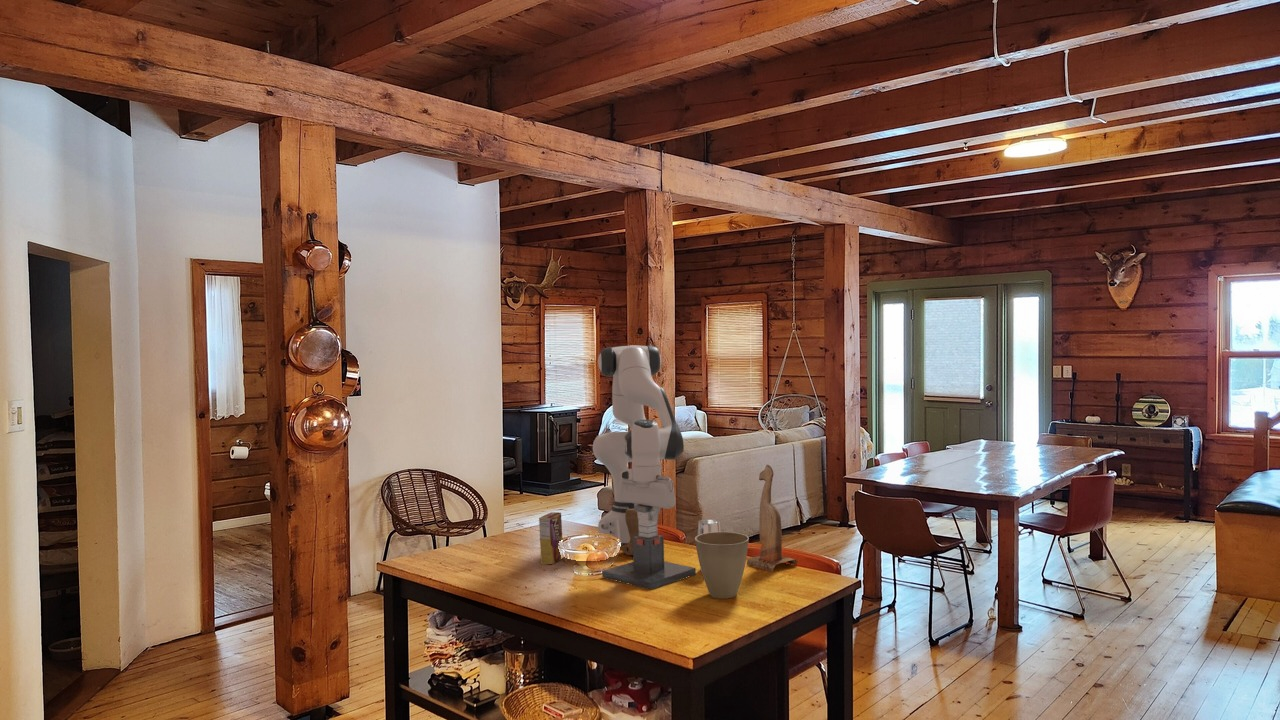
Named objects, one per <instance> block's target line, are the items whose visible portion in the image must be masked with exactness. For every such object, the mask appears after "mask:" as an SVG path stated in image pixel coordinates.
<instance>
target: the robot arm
mask: <svg viewBox="0 0 1280 720" xmlns="http://www.w3.org/2000/svg"><path fill="white" fill-rule="evenodd" d="M597 366H598V368H599V371H600V374H602V376H604V377H606V378H612V387H611V388H612V392H611V393H612V394H611V395H612V402H611V403H612V415H613V416H614V418H616V420H618V421H619V422H621V423H624V424H626V425H627V426H628V427H629V431H615V432H614V431H612V432H606V433H601V434H598V435H597V436H596V437H595V439H594V441H593V444H592V453H593V455H594V457H595V458H596V460H597V461H599V462H600V463H602V465H604V466H605V467H606V469H607V470H608V472H609V473H610V475H611V477H612V483H613V493H614V494H613V495H614V498H613V499H614V500H613V501H609V502H608V503H609V504H608V505H609V506H611V508H610V511H608V512H607V513H606V514H605V515H604V516H602V517H601V519H599V521H598V526H597V529H598V530H597V532H598V533H604V534H609V535H612V536H614V537H617V538H619V539H620V540H621V541H622V543H621V544H628V543H629V542H630V535H629V531H628V527H627V524H626V520H625V513H626V510H627V509H634V506H636V505H647V506H653V510H654V512H653V515H651V521H657V522H658V521H659V514H660V513H661V509H667V510H669V509H673V508H674V507H675V505H676V504H677V503H676V502H677V501H676V493H675V489H674V488H675V487H674V481H673V480H672V479H671V478H670V476H664V475H663V476H662V462H661V460H668V461H669V460H672V461H675V460H676V459H678V458H679V457H680V456H681V455H682V454H683V452H684V449H685V448H684V447H685V441H684V436H683V434H682V432H681V430H680V428H679V426H678V423H677V421H676V419H675V418H676V417H675V416H674V413H673V410H672V406H671V404H670V401H669V399H668V396H667V393H666V392H665V390H664V388H663V387H662V386H659V384H657V383H656V382H655V381H654V378H653V376H655V375H656V374H658V373H659V372H660V369H661V366H662V356H661V353H660V350H659V349H658V348H657V347H656V346H653V345H636V344H635V345H633V344H630V345H620V346H613V347H612V346H608V347H604V348H602V349H601V351H599V355H598V358H597ZM645 406H646V407H648V408H651V409H653V410H654V411H656V413H657V414H658V417H659V420H660V423H661V425H662V427H661V428H660V427H659V425H658V422H657V421H655V420H652V419H647V418H646V416H645V410H644V407H645ZM628 463H631V468H628ZM637 515H638V512H637Z"/></svg>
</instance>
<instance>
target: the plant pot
mask: <svg viewBox="0 0 1280 720" xmlns="http://www.w3.org/2000/svg"><path fill="white" fill-rule="evenodd" d="M749 539H750V538H749V536H748V535H746V534H743V533H738V532H732V531H721V532H710V533H704V534H700V535H698V534H697V536H695V537H694V542H695V547H696V553H697V558H698V559H697V560H698V563H699V567H701V570H700V571H701V573H702V577H703V581H704V583H705V586H706V588H707V591H708V593H709V596H710V597H711V598H715V599H721V600H724V599H725V600H726V599H733V598H735V597H736V596H737V595H738V593H739V589H740V586H741V582H742V579H743V575H744V572H745V568H746V564H747V559H748V558H747V557H748V549H749V541H750V540H749Z"/></svg>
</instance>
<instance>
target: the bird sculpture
mask: <svg viewBox="0 0 1280 720" xmlns="http://www.w3.org/2000/svg"><path fill="white" fill-rule="evenodd" d="M773 478H774V470H773V467H772V466H770V465H769V464H766V465H765V468H764V470H762V471H760V473H759V477H758V479H759V481H765V482H764V485H763V488H762V492H761V497H760V503H759V514H758V515H759V516H758V517H759V541H760V544H761V547H760V551H759V555H758V556H753V557H749V558H747V559H746V565H747V566H750V567H755V568H757V569H761V570H766V571H767V572H771V571H772V572H774V569H775V567H776V565H779V564H782V563H786V564H790V565H794V566H798V561H797V559H795V558H792V557H788V556H787V557H786V556H783V549H782V548H783V546H782V545H783V544H782V543H783V542H782V541H783V540H782V539H783V534H782V532H783V531H782V530H783V529H782V517H781V514H780V513H779V511H778V509H777V508H776V506H775V505H774V504H773V502H772V484H773ZM772 572H771V573H772Z"/></svg>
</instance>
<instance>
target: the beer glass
mask: <svg viewBox="0 0 1280 720" xmlns="http://www.w3.org/2000/svg"><path fill="white" fill-rule="evenodd" d="M720 522H721V521H720V520H719V519H710V518H708V519H701V520H698V529H697V536H698V535H700V534H704V533H710V532H722V531H721V525H720V524H721V523H720ZM699 567H700V566H699ZM700 571H701V567H700Z"/></svg>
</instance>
